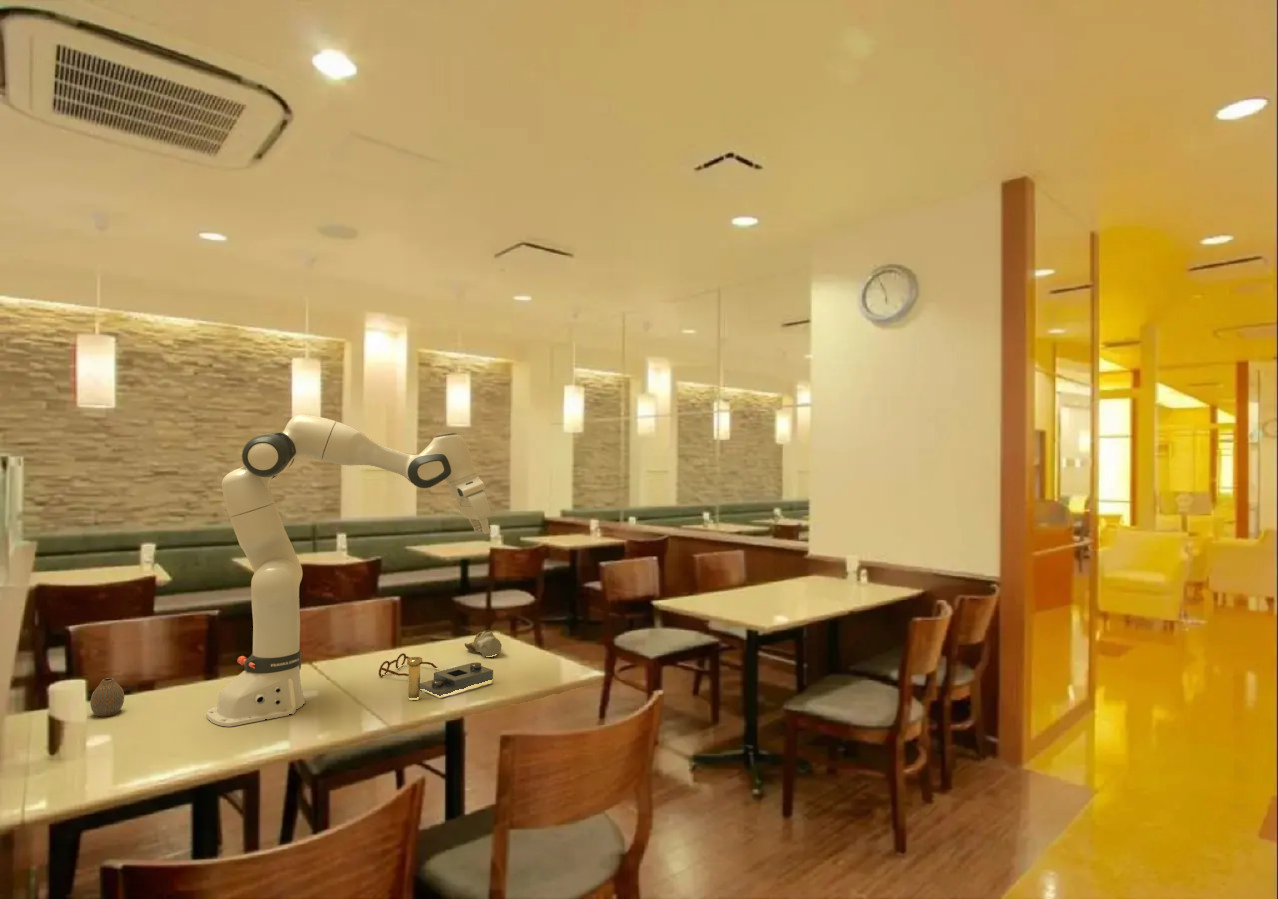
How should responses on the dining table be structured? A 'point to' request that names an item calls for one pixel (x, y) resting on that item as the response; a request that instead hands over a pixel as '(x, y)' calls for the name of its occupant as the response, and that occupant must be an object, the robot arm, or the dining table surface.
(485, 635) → the ceramic sculpture
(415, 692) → the pin
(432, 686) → the metal plate with knobs
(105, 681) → the vase
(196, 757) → the dining table surface
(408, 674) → the glasses
